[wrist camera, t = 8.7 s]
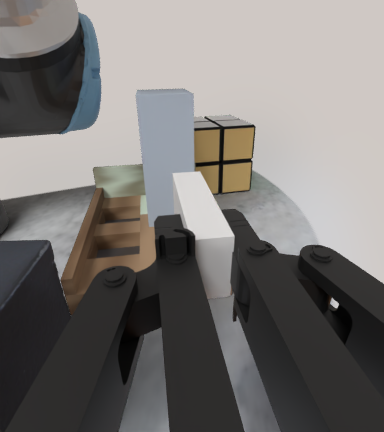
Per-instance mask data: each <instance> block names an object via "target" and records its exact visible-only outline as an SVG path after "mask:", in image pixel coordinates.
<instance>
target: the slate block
mask: <svg viewBox="0 0 384 432" xmlns="http://www.w3.org/2000/svg"><path fill="white" fill-rule="evenodd" d="M136 102H137V111H138V122H139V133H140V142H141V152H142V162H143V172H144V182H145V192H146V202H147V212H148V222H149V227H154V221H155V220H156V218H157V217H158V216H162V215H174V198H173V176H172V173H182V172H194V108H193V107H194V104H193V103H194V102H193V93H191V92H189V91H187V90H185V89H159V90H157V89H156V90H137V93H136Z"/></svg>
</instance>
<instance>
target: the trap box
mask: <svg viewBox="0 0 384 432" xmlns="http://www.w3.org/2000/svg"><path fill="white" fill-rule="evenodd" d="M194 172H196V163H195V161H194ZM93 173H94V178H95V183H96V190H95V193H94V195H93V198H92V200H91V203H90V205H89V208H88V211H87V213H86V216H85V218H84V221H83V223H82V226H81V229H80V231H79V234H78V236H77V239H76V241H75V244H74V247H73V249H72V252H71V254H70V257H69V259H68V262H67V265H66V267H65V270H64V272H63V275H62V277H61V284H62V287H63V290H64V294H65V297H66V301H67V304H68V307H69V311H70V314H71V315H73V313H74V311H75V310H76V308H77V306H78V304H79V303H80V301H81V299H82V298H83V296H84V294H85V292H86V291H87V289H88V287H89V285H90V284H91V282H92V280H93V279H94V277H95V276H96V275H97V274H98V273H99V272H101V271H102V270H104V269H106V268H109V267H112V266H126V267H129V268H131V269H133V270H134V272H138V271H141V270H143V269H145V268H147V267H149V266H150V265H151V264H152V263H153V262H154V261H155V259H156V249H155V231H154V227H149V222H148V212H147V202H146V192H145V182H144V172H143V164H140V165H123V166H107V167H94V168H93ZM230 295H232V286H231V293H230Z"/></svg>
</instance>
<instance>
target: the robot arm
mask: <svg viewBox="0 0 384 432" xmlns="http://www.w3.org/2000/svg"><path fill="white" fill-rule="evenodd" d="M99 73H100V57H99V49H98V43H97V38H96V34H95V30H94V27H93V24H92V22H91V21H90V19H89V18H88V17H87V16H86V15H84V14H81V13H79V12H78V8H77V5H76V2H75V0H0V138H6V137H19V136H33V135H47V134H65V133H67V132H68V131H75V130H82V129H87V128H89V127H90V126H92V125H93V124H94V122H95V121H96V119H97V117H98V114H99V109H100V101H101V78H100V75H99ZM172 176H173V198H174V215H162V216H158V217H157V218H156V220H155V221H154V231H155V249H156V259H155V261H154V262H153V263H152V264H151V265H150V266H149V267H147V268H145V269H143V270H141V271H138V272H134V270H133V269H131V268H129V267H126V266H112V267H109V268H106V269H104V270H102V271H101V272H99V273H98V274H97V275H96V276H95V277H94V279H93V280H92V282H91V284H90V285H89V287H88V289H87V291H86V292H85V294H84V296H83V298H82V299H81V301H80V303H79V304H78V306H77V308H76V310H75V311H74V313H73V315H72V317H71V318H70V320H69V322H68V323H67V325H66V327H65V329H64V330H63V332H62V334H61V335H60V337H59V339H58V341H57V342H56V344H55V346H54V348H53V349H52V351H51V353H50V354H49V356H48V358H47V360H46V361H45V363H44V365H43V367H42V368H41V370H40V372H39V373H38V375H37V377H36V379H35V380H34V382H33V384H32V386H31V387H30V389H29V391H28V392H27V394H26V396H25V398H24V399H23V401H22V403H21V405H20V406H19V408H18V410H17V411H16V413H15V415H14V417H13V418H12V420H11V422H10V424H9V425H8V427H7V429H6V430H5V432H118V431H119V427H120V423H121V420H122V416H123V412H124V409H125V405H126V401H127V398H128V394H129V390H130V387H131V383H132V379H133V376H134V372H135V368H136V365H137V361H138V357H139V354H140V350H141V346H142V343H143V339H144V334H146V333H149V332H151V331H153V330H155V329H158V328H160V327H162V338H163V351H164V364H165V377H166V390H167V403H168V416H169V429H170V432H245V431H244V428H243V424H242V421H241V417H240V414H239V410H238V406H237V403H236V399H235V396H234V392H233V389H232V385H231V381H230V378H229V374H228V371H227V367H226V364H225V360H224V356H223V353H222V349H221V346H220V342H219V339H218V335H217V331H216V328H215V324H214V321H213V317H212V314H211V310H210V306H209V303H208V299H213V298H221V297H229V296H230V293H231V286H232V289H233V291H234V307H233V322H234V321H236V317H237V315H238V318H239V320H240V323H241V326H242V328H243V331H244V334H245V336H246V339H247V342H248V344H249V347H250V350H251V352H252V355H253V358H254V360H255V363H256V366H257V368H258V371H259V374H260V377H261V379H262V382H263V385H264V387H265V390H266V393H267V395H268V398H269V401H270V403H271V406H272V409H273V411H274V414H275V417H276V419H277V422H278V425H279V427H280V430H281V432H384V284H383V283H382V282H380V281H378V280H377V279H376V278H374V277H373V276H371V275H370V274H368V273H367V272H365V271H364V270H362V269H361V268H360V267H358V266H357V265H355V264H354V263H352V262H350V261H349V260H348V259H346V258H345V257H343V256H342V255H340V254H339V253H337V252H336V251H334V250H332V249H330V248H328V247H325V246H321V245H308V246H305V247H303V248H302V249H301V251H300V255H299V256H296V255H286V254H280V253H279V252H278V251H277V250H276V248H275V247H274V246H273V245H272V244H270V243H268V242H266V241H262V240H260V239H259V238H258V236H257V235H256V233H255V232H254V230H253V229H252V227H251V226H250V224H249V223H248V221H247V220H246V218H245V217H244V215H243V214H242V213H241V212H239V211H237V210H236V209H227V210H220V208H219V206H218V204H217V202H216V200H215V198H214V196H213V195H212V193H211V191H210V189H209V187H208V185H207V183H206V181H205V180H204V178H203V176H202V174H201V172H200V171H198V172H182V173H172ZM8 222H9V219H8V216H7V213H6V210H5V208H4V205H3V203H2V201H1V200H0V234H1V233H2V232H3V231H4V230H5V229H6V227H7V225H8ZM331 298H333V299H334V300H335V301H337V302H338V303H339V306H338V308H334V307H333V306H332V305H331V304H330V301H331Z"/></svg>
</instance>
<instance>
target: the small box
mask: <svg viewBox="0 0 384 432" xmlns="http://www.w3.org/2000/svg"><path fill="white" fill-rule="evenodd" d="M70 318H71V316H70V313H69V309H68V306H67V303H66V299H65V297H64V295H63V289H62V287H61V283H60V280H59V277H58V271H57V268H56V264H55V262H54V254H53V250H52V246H51V243H50V241H48V240H22V241H0V432H5V430H6V429H7V427H8V425H9V424H10V422H11V420H12V418H13V417H14V415H15V413H16V411H17V410H18V408H19V406H20V405H21V403H22V401H23V399H24V398H25V396H26V394H27V392H28V391H29V389H30V387H31V386H32V384H33V382H34V380H35V379H36V377H37V375H38V373H39V372H40V370H41V368H42V367H43V365H44V363H45V361H46V360H47V358H48V356H49V354H50V353H51V351H52V349H53V348H54V346H55V344H56V342H57V341H58V339H59V337H60V335H61V334H62V332H63V330H64V329H65V327H66V325H67V323H68V322H69V320H70Z"/></svg>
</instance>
